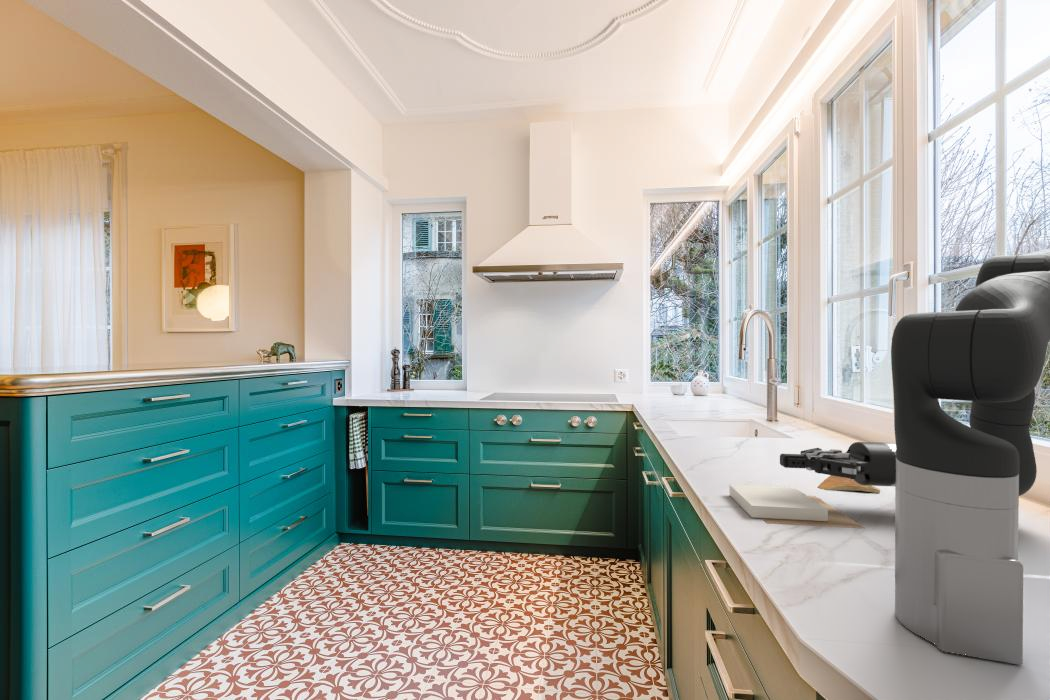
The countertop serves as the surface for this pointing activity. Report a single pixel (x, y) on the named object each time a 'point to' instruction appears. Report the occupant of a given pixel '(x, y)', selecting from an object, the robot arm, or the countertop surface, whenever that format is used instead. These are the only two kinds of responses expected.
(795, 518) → the tile
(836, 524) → the plate
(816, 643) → the countertop surface
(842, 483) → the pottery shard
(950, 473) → the robot arm
